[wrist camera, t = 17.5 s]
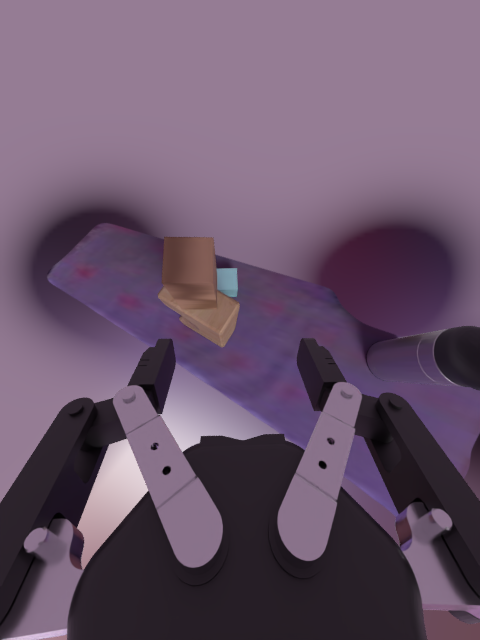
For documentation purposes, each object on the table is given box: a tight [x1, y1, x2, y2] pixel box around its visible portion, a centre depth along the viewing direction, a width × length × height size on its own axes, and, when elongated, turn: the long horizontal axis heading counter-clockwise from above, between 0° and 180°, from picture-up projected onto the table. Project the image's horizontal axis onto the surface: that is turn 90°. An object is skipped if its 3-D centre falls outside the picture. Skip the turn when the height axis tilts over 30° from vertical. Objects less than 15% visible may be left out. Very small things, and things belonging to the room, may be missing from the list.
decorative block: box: [158, 286, 240, 347], centre depth 42 cm, size 11×6×20 cm, turn 58°
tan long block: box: [162, 237, 217, 310], centre depth 27 cm, size 5×5×10 cm
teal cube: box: [217, 268, 238, 297], centre depth 51 cm, size 5×5×5 cm
